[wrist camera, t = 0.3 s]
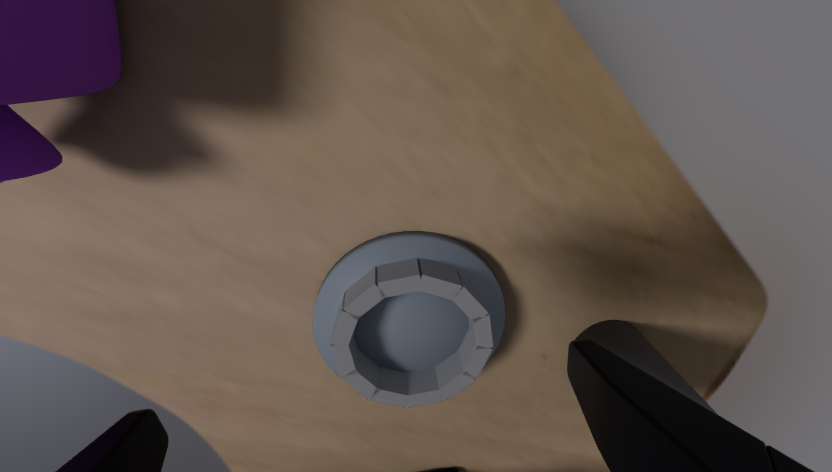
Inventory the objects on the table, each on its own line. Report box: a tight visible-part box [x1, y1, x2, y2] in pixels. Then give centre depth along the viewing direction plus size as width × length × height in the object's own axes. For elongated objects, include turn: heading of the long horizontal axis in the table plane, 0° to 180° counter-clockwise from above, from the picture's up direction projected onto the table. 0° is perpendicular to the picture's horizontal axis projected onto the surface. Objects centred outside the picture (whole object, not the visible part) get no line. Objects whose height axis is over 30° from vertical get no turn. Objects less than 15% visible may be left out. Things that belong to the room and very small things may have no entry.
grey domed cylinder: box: [575, 320, 718, 415], centre depth 23 cm, size 5×5×12 cm
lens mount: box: [313, 231, 506, 408], centre depth 25 cm, size 12×12×3 cm
